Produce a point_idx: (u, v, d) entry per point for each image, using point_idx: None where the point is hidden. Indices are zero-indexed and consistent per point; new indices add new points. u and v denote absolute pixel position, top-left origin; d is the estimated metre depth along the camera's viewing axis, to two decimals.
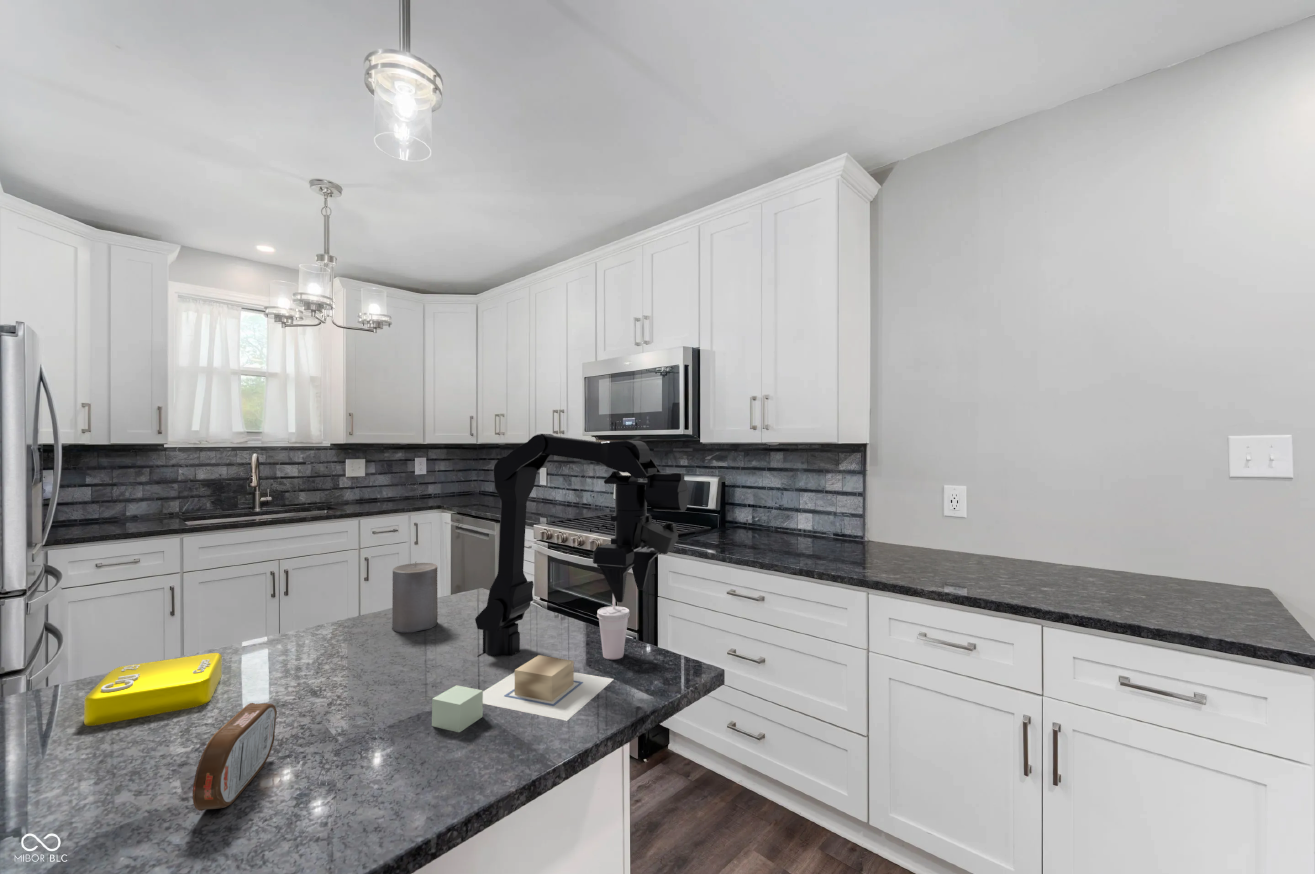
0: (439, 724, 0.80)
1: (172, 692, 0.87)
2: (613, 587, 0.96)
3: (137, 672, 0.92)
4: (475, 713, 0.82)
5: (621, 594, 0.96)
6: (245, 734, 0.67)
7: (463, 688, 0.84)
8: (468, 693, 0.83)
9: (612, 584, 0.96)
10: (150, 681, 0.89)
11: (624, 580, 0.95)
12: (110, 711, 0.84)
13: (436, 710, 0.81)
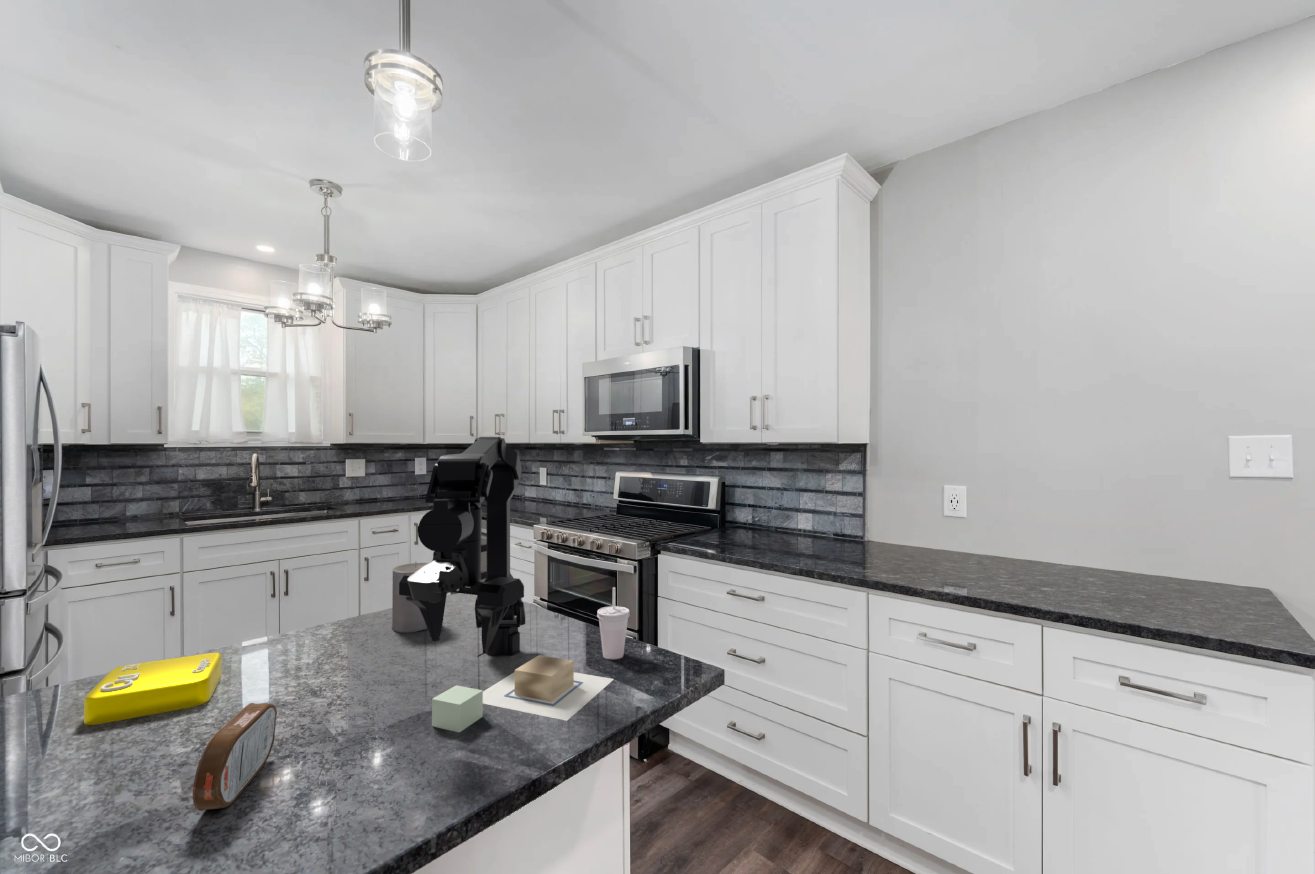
0: (439, 724, 0.80)
1: (171, 691, 0.88)
2: None
3: (137, 672, 0.93)
4: (475, 713, 0.82)
5: None
6: (245, 734, 0.67)
7: (463, 688, 0.84)
8: (468, 693, 0.83)
9: None
10: (150, 681, 0.89)
11: (425, 616, 0.83)
12: (109, 711, 0.84)
13: (436, 710, 0.81)
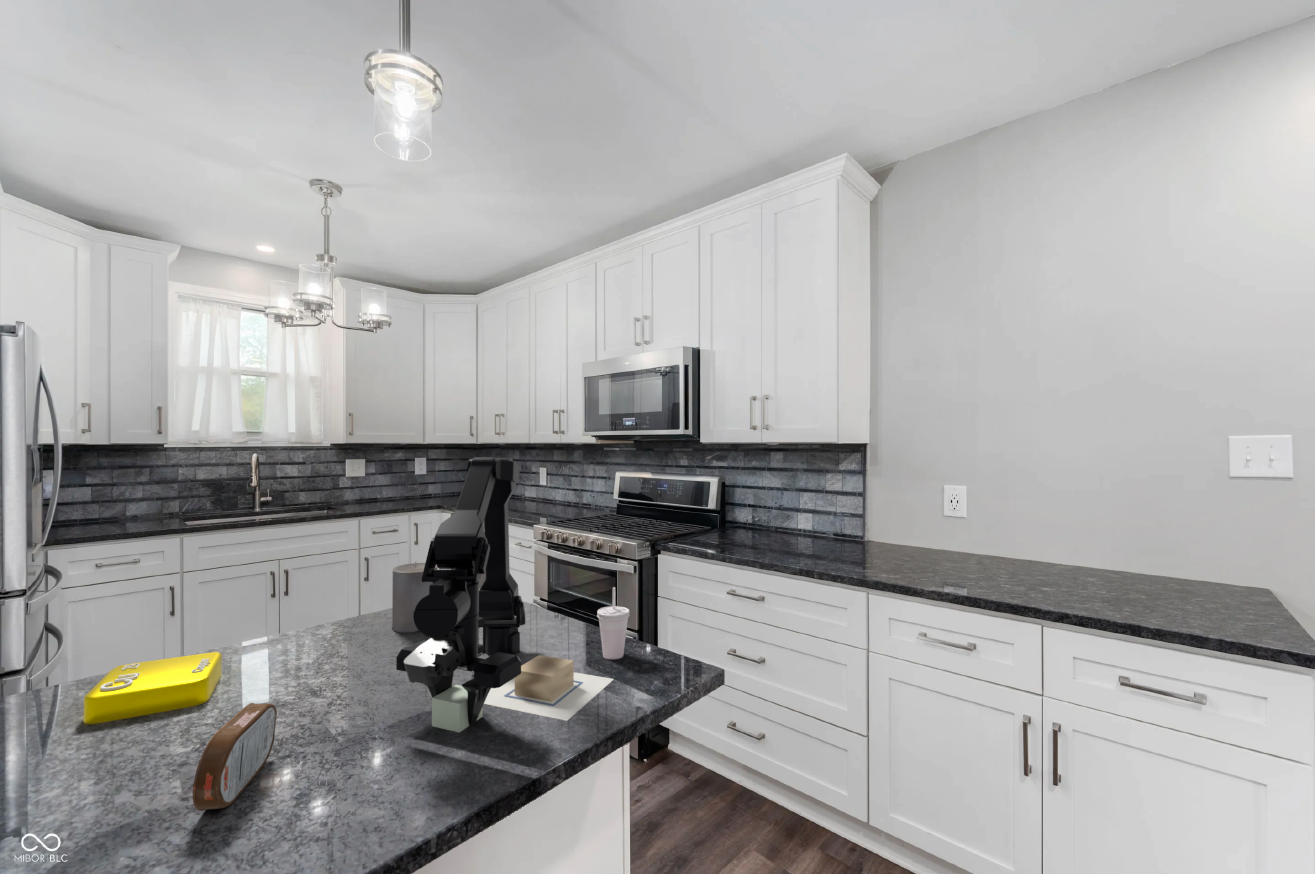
0: (439, 723, 0.80)
1: (170, 691, 0.88)
2: None
3: (137, 671, 0.93)
4: None
5: None
6: (245, 734, 0.67)
7: None
8: None
9: None
10: (149, 680, 0.89)
11: (432, 692, 0.82)
12: (109, 710, 0.84)
13: (436, 709, 0.81)
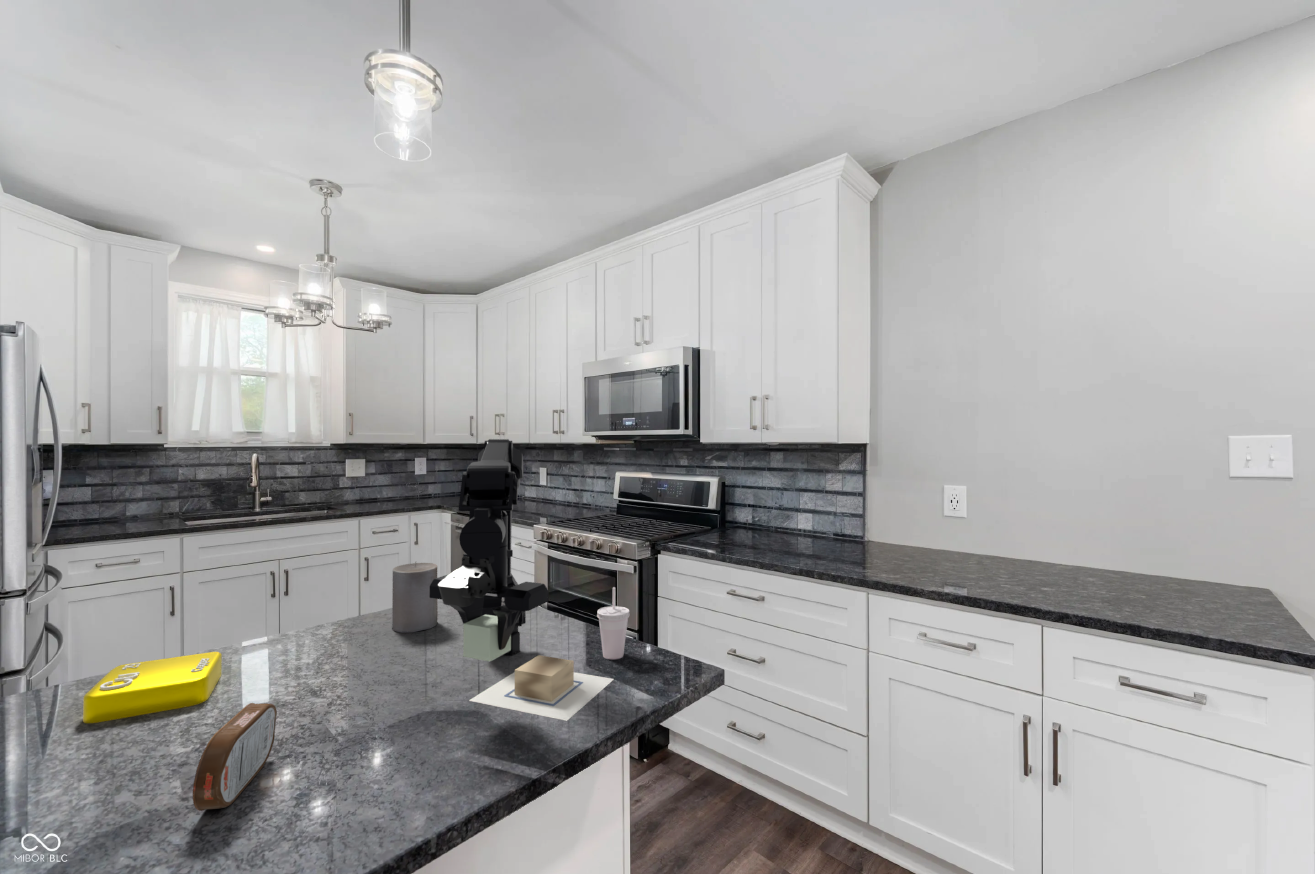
0: (470, 647, 0.84)
1: (170, 690, 0.88)
2: None
3: (137, 670, 0.93)
4: None
5: None
6: (245, 734, 0.67)
7: (492, 616, 0.88)
8: (497, 620, 0.86)
9: None
10: (149, 680, 0.89)
11: (464, 619, 0.86)
12: (108, 709, 0.84)
13: (467, 634, 0.84)
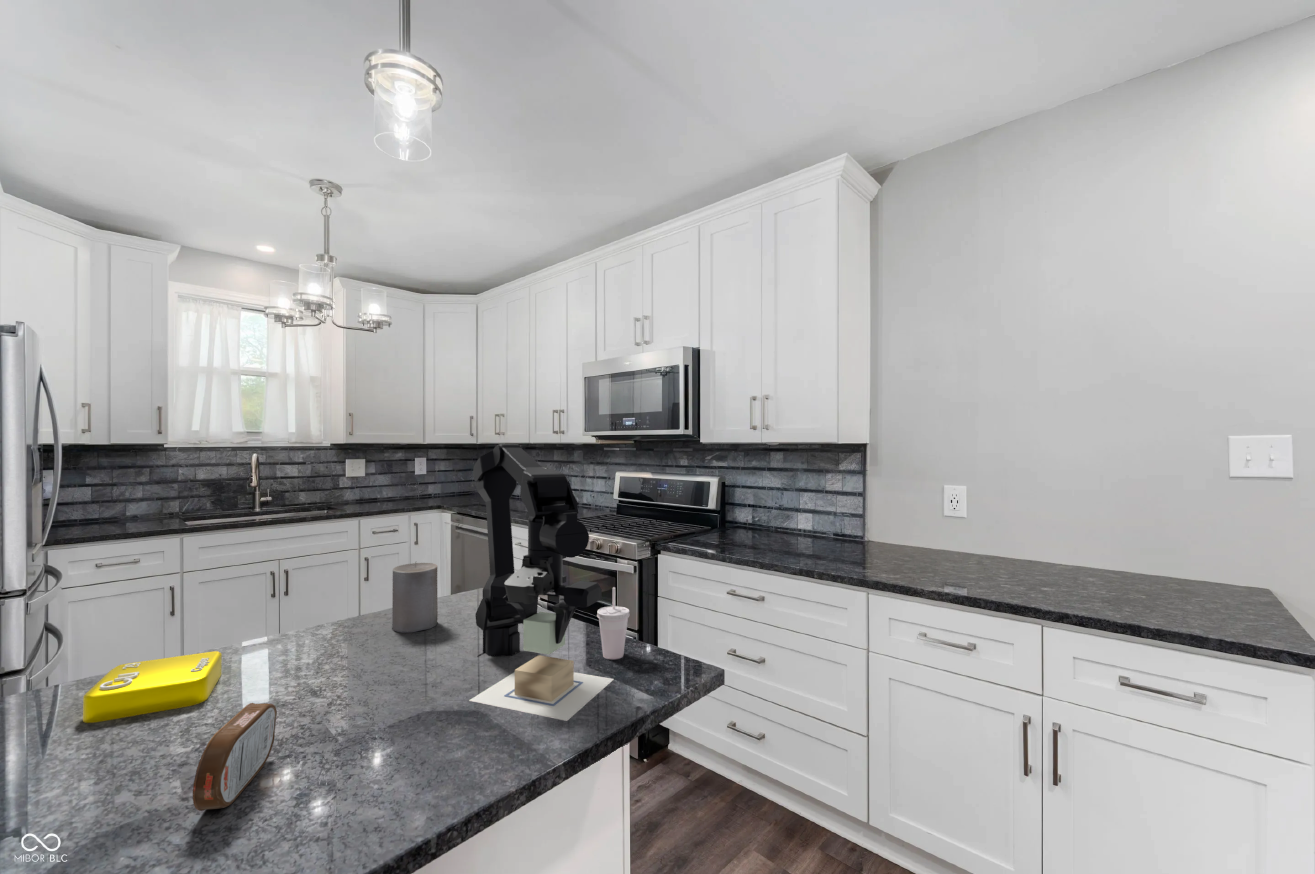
0: (530, 642, 0.91)
1: (169, 690, 0.88)
2: None
3: (137, 670, 0.93)
4: None
5: None
6: (245, 734, 0.67)
7: (547, 613, 0.95)
8: (553, 616, 0.94)
9: None
10: (148, 679, 0.90)
11: (522, 616, 0.94)
12: (108, 709, 0.84)
13: (527, 630, 0.92)
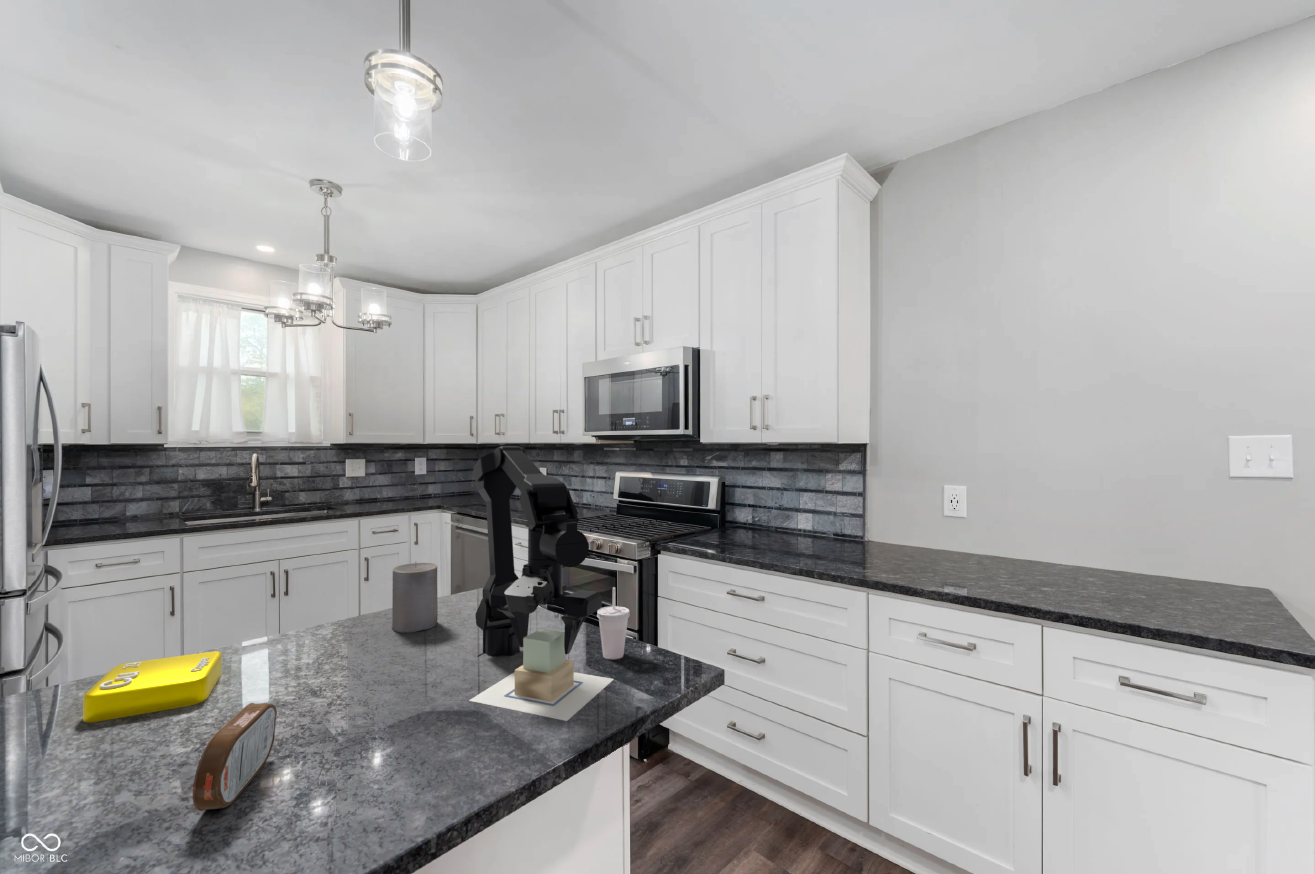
0: (530, 660, 0.91)
1: (169, 690, 0.88)
2: None
3: (138, 670, 0.93)
4: (560, 651, 0.93)
5: None
6: (245, 734, 0.67)
7: (547, 631, 0.95)
8: (553, 634, 0.94)
9: None
10: (148, 679, 0.90)
11: (514, 624, 0.94)
12: (107, 708, 0.85)
13: (527, 648, 0.92)
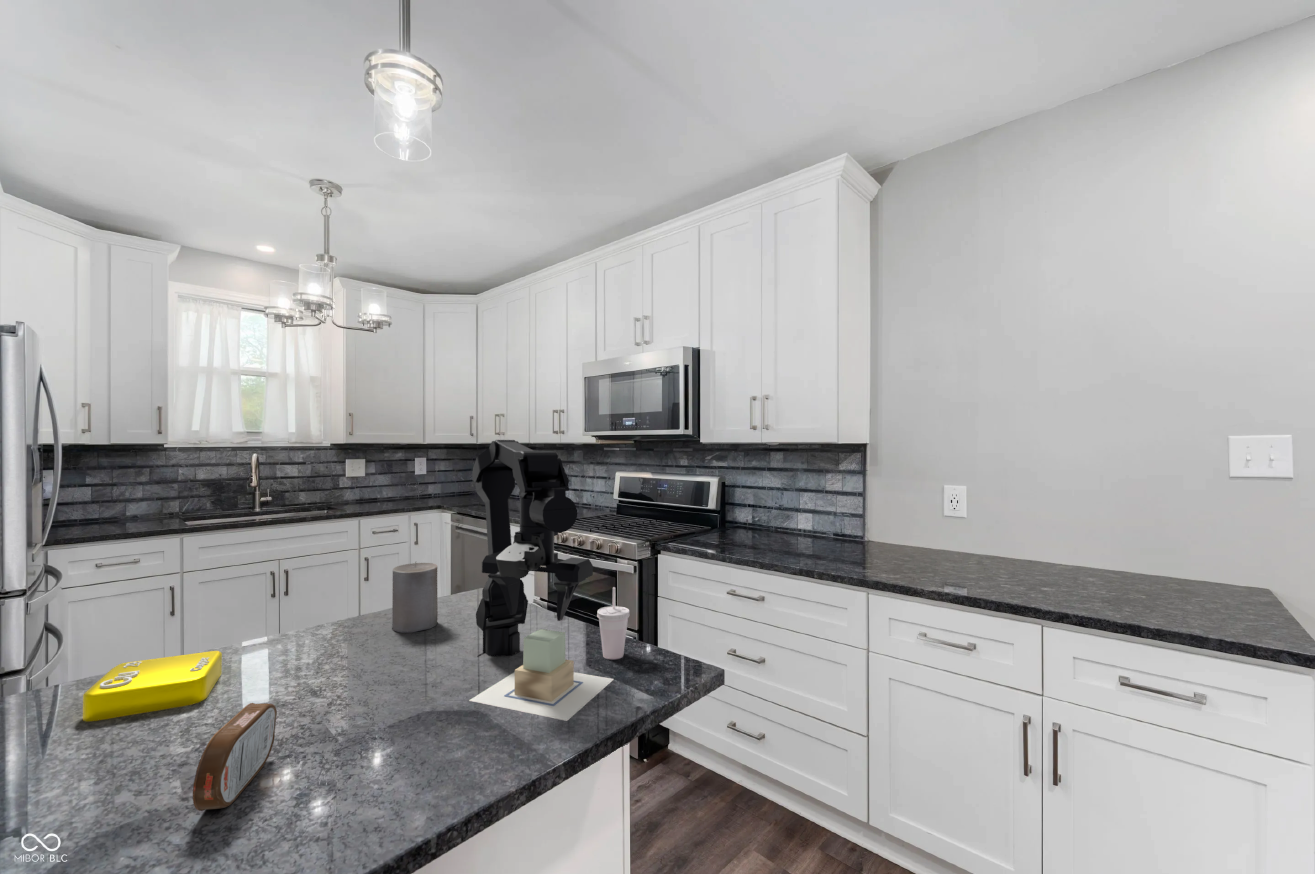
0: (530, 660, 0.91)
1: (168, 689, 0.88)
2: None
3: (138, 669, 0.94)
4: (560, 651, 0.93)
5: (508, 605, 0.95)
6: (245, 734, 0.67)
7: (547, 631, 0.95)
8: (553, 634, 0.94)
9: None
10: (148, 678, 0.90)
11: (504, 591, 0.95)
12: (107, 708, 0.85)
13: (527, 648, 0.92)
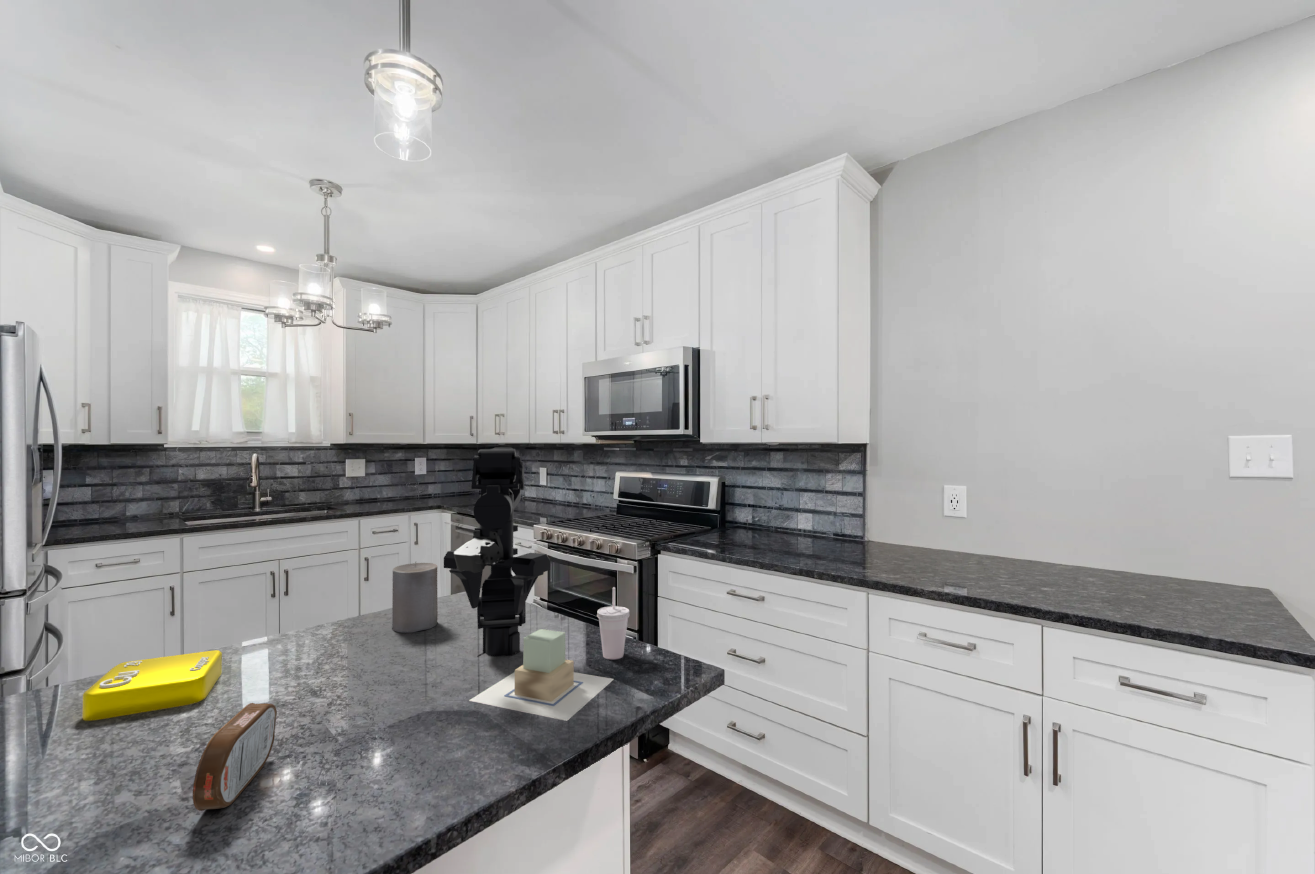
0: (530, 660, 0.91)
1: (167, 689, 0.88)
2: None
3: (138, 668, 0.94)
4: (560, 651, 0.93)
5: (469, 599, 0.98)
6: (245, 734, 0.67)
7: (547, 631, 0.95)
8: (553, 634, 0.94)
9: None
10: (147, 678, 0.90)
11: (465, 586, 0.98)
12: (106, 707, 0.85)
13: (527, 648, 0.92)
